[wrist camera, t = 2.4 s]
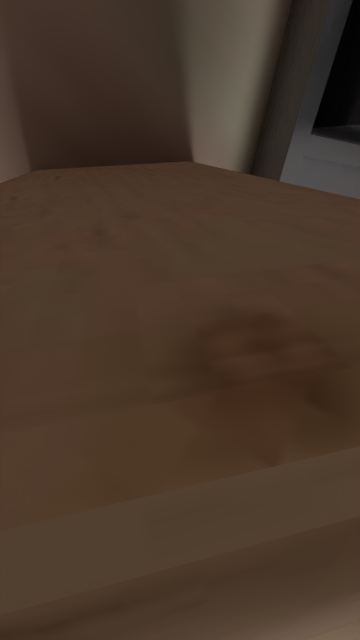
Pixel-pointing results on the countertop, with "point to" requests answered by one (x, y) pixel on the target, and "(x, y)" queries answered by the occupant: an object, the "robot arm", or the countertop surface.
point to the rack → (315, 101)
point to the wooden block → (178, 406)
